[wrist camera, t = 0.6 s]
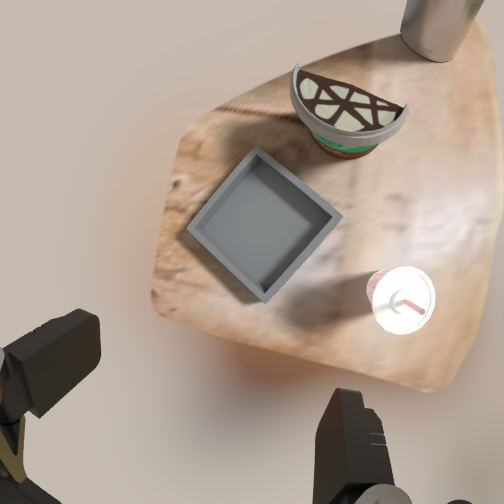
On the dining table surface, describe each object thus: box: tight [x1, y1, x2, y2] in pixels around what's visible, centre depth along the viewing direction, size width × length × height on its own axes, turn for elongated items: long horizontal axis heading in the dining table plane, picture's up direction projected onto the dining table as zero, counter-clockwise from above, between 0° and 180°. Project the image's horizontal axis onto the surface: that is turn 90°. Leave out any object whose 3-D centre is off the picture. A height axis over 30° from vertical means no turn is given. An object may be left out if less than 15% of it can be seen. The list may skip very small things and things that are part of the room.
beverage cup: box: [367, 266, 435, 334], centre depth 25 cm, size 6×6×14 cm
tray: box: [186, 145, 343, 304], centre depth 34 cm, size 13×13×3 cm
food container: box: [290, 64, 409, 159], centre depth 29 cm, size 12×6×10 cm, turn 65°
